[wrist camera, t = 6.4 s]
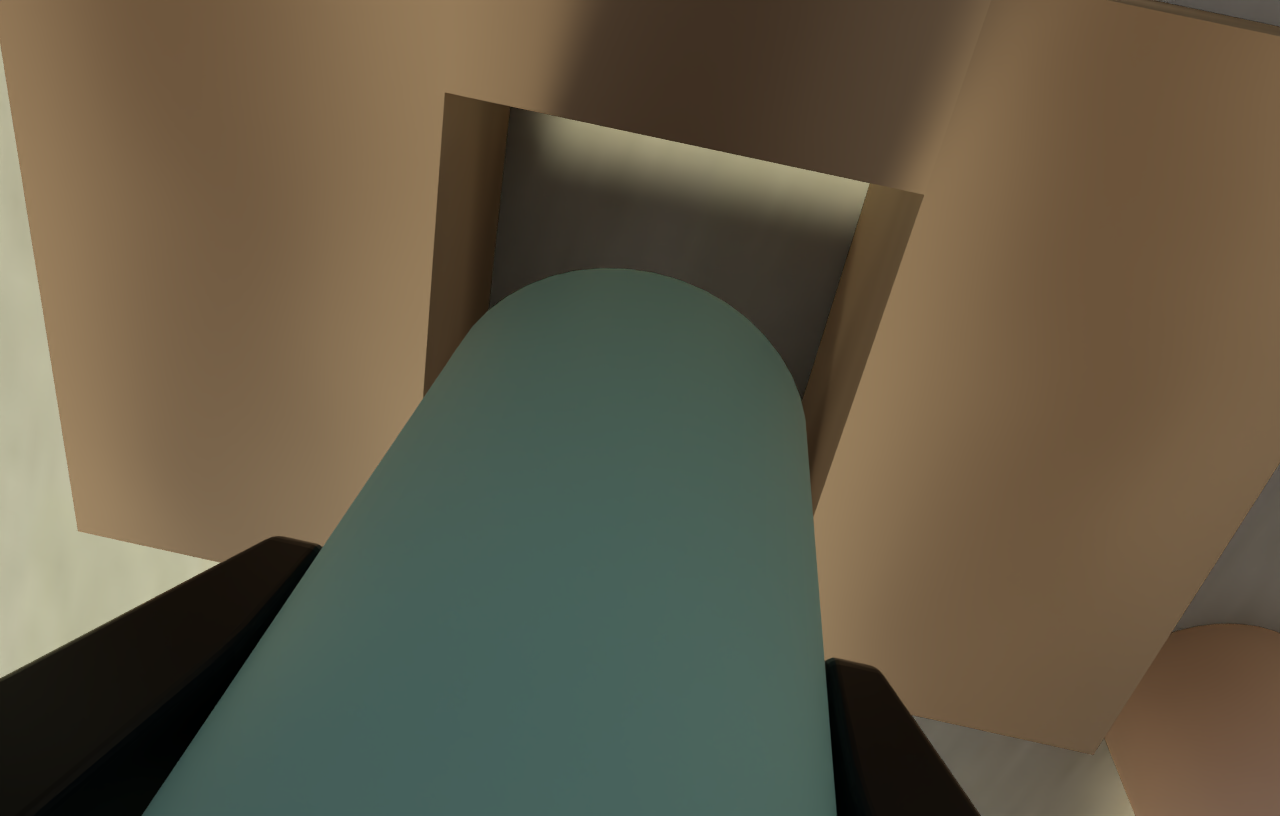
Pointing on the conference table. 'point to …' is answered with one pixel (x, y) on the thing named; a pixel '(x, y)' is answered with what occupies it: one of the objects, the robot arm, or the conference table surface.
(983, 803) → the conference table surface
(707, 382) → the tall pin
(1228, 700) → the short pin
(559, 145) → the conference table surface
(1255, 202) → the bore board
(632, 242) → the conference table surface
